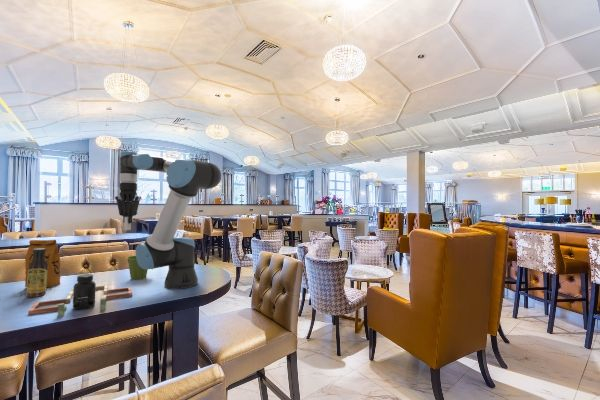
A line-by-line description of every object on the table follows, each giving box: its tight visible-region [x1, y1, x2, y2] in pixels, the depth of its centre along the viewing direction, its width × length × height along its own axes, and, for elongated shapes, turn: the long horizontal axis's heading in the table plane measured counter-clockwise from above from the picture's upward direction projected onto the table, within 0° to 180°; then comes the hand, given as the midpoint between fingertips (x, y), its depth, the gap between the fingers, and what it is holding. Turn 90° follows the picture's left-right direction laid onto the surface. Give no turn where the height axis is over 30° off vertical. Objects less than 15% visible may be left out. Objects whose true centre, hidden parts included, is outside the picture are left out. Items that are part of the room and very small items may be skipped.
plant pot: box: [125, 255, 149, 281], centre depth 155 cm, size 12×12×11 cm
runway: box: [28, 284, 133, 318], centre depth 119 cm, size 32×32×4 cm
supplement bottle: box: [72, 273, 97, 311], centre depth 111 cm, size 7×7×12 cm
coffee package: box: [24, 239, 62, 288], centre depth 140 cm, size 10×12×22 cm
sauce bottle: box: [26, 248, 48, 298], centre depth 125 cm, size 6×6×20 cm
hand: (127, 229), depth 146 cm, fingers closed
